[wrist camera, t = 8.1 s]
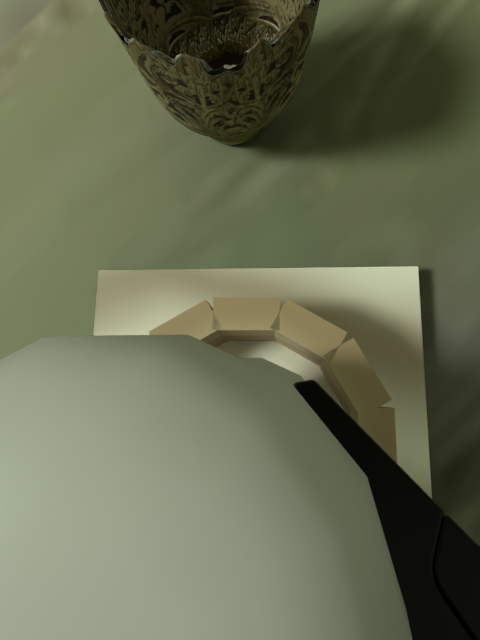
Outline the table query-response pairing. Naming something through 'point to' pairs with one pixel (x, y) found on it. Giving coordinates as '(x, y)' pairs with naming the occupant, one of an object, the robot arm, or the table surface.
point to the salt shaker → (180, 501)
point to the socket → (299, 334)
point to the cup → (217, 58)
